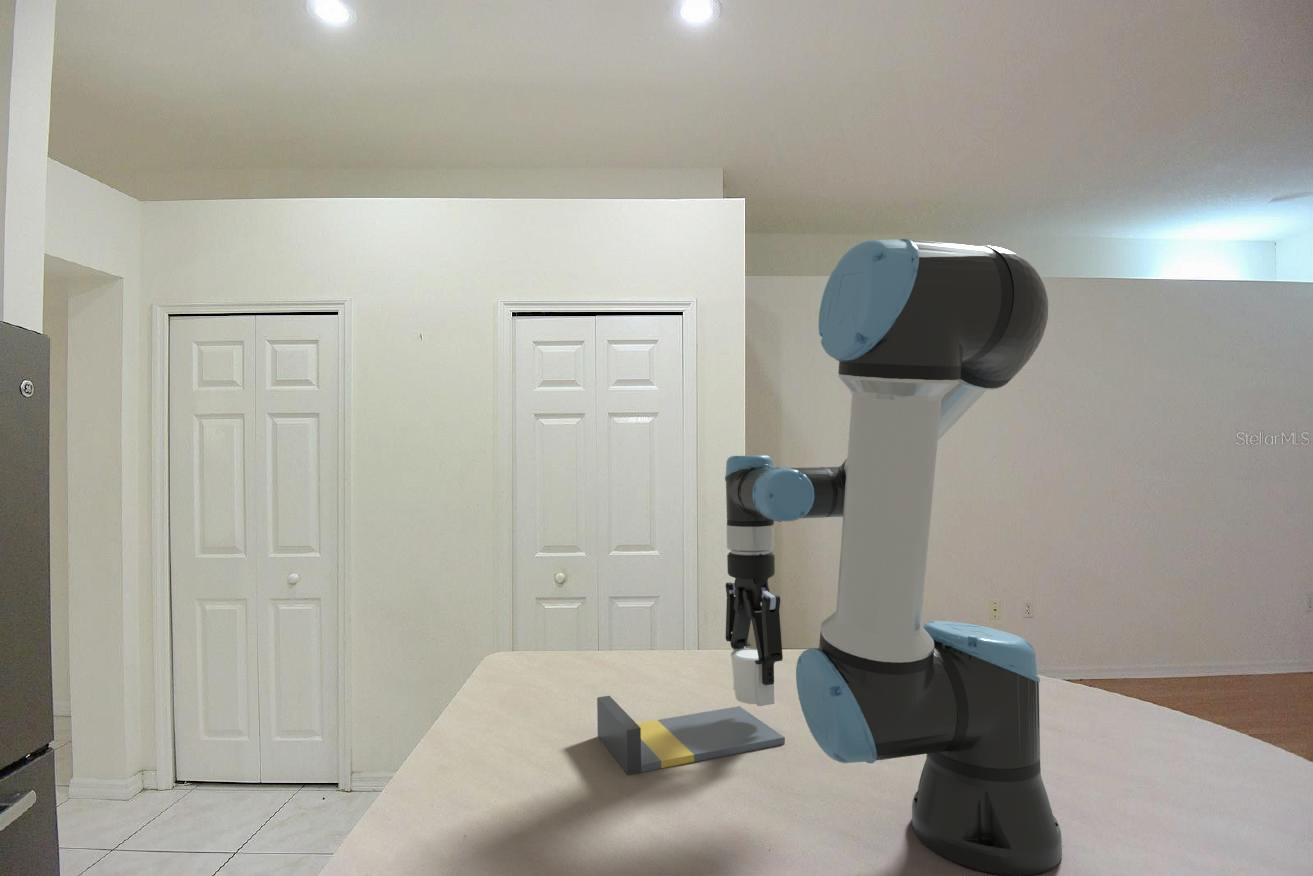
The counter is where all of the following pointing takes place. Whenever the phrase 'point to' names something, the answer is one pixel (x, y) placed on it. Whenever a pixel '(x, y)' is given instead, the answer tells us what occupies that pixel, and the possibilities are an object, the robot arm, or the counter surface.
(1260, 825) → the counter surface
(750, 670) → the shot glass
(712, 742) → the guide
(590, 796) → the counter surface
